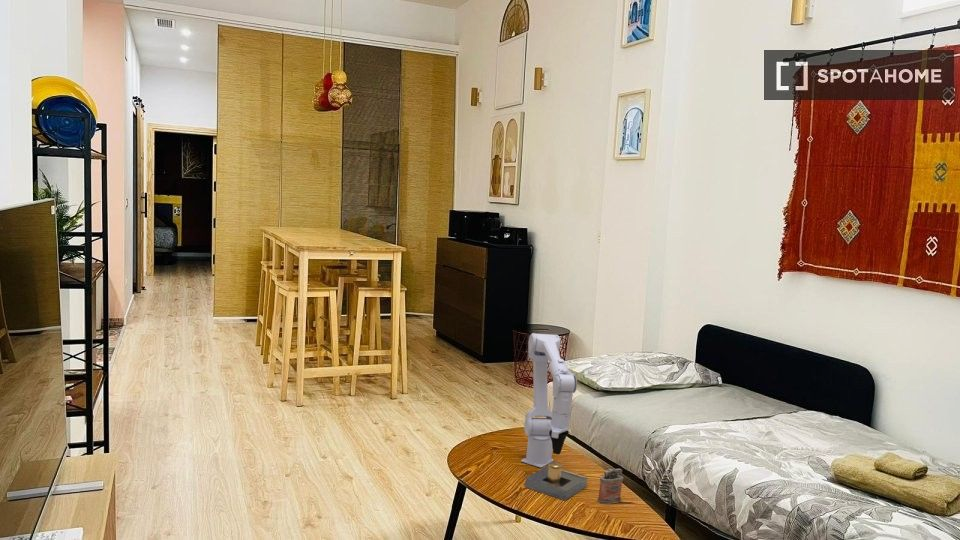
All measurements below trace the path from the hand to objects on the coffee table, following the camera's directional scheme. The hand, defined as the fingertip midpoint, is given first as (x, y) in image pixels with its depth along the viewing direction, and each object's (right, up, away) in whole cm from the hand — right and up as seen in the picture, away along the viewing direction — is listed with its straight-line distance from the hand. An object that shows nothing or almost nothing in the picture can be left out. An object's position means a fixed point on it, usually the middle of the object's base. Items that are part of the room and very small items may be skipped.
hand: (556, 453), depth 232 cm
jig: (0, -10, -1) cm, 10 cm away
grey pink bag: (+15, -13, -8) cm, 21 cm away
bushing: (-1, -11, -3) cm, 11 cm away
